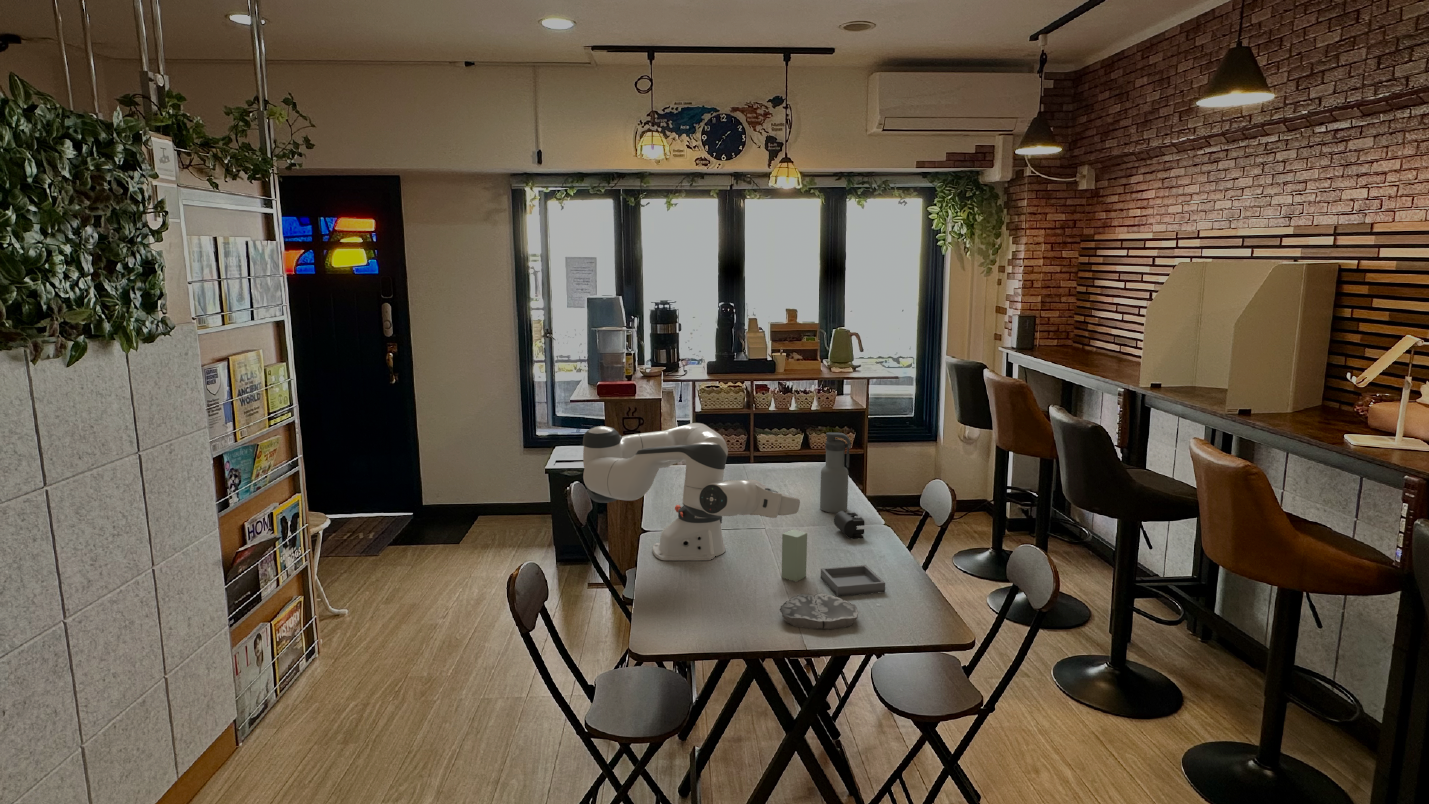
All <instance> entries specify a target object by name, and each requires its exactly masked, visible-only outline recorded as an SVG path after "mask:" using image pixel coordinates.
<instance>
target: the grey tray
mask: <svg viewBox="0 0 1429 804" xmlns="http://www.w3.org/2000/svg"><path fill="white" fill-rule="evenodd" d="M820 579H821V580H822V581H823V582H824V583H825V585H828V586H827V587H828V588H829V589H830V590H831V592H833V593H834V594H835V595H836V597H838V598H839V597H847V596H848V597H849V596H860V595H859V594H861V595H871V593H873V594H879V593H878V592H885V593H886V582H885V581H884V580H883V579H882V578H881V577H879V576H878V574H877V573H876V572H874V571H873V570H872V569H871V568H870V567H869V566H868V565H866V564H864V565H863V564H861V565H849V566H848V565H847V566H837V567H822V568H820Z"/></svg>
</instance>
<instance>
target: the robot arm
mask: <svg viewBox="0 0 1429 804" xmlns="http://www.w3.org/2000/svg"><path fill="white" fill-rule="evenodd" d="M582 446H583V450H582V451H583V452H582V453H583V455H582V456H583V458H582V461H583V467H584V470H583V476H582V478H583V482H584V484H585V487H586V491H587V495H588V497H589V498H590V499H591V500H592V501H593V502H595V503H601V504H602V503H604V504H608V503H612V502H613V503H614V502H617V500H621V501H636V500H638V499H641V498H642V497H643V496H645V495H646V494H647V493H648V491H649V490H650V489H651V487H652V486H653V483H654V481H655V478H656V477H657V474H658V472H659V470H660V469H665V468H669V467H670V466H672V465H676V464H678V463H681V462H684V463H685V473H684V483H683V493H682V506H681V505H680V504H676V505H675V506H674V510H675V512H676V513H677V518H676V519H675V520H673V521H672V522H671V523H670V524H668V525H667V526H666V527H664V528H663V529H662V531H661V533H660V537H659V542H655V543H654V544H653V546H652V553H653V555H654V557H656V558H657V559H658V560H661V561H711V559H712V560H713V559H715V556H716V557H718V556H721V555H722V554H724V553H725V552H726V545H725V543H724V537H723V531H722V523H723V522H722V521H723V517H735V516H736V517H737V516H747V515H748V516H749V515H750V516H760V517H766V518H770V519H771V518H772V519H776V518H778V516H789V515H794V514H797V513H798V512H799V509H800V504H801V501H800V499H799V498H797V497H795V496H792V495H787V494H785V493H782V492H779V491H776V490H774V489H772V488H769V487H768V486H766V485H765V484H762V482H760V481H758V480H756V479H738V480H735V479H734V480H733V479H730V480H729V479H728V480H724V473H725V469H726V462H727V458H728V455H729V450H728V449H729V448H728V445H727V442H726V440H725V438H724V437H723V436H722V435H721V434H720V433H718V432H717V431H715V430H714V429H713V428H711V427H709V426H708V425H707V424H704V423H701V422H692V423H688V424H685V425H680V426H677V427H673V428H670V429H666V430H665V429H664V430H659V431H658V430H657V431H650V432H648V431H647V432H641V433H634V434H626V435H623V436H622V435H621V434H620V432H619V431H618V430H617V429H615V428H614V427H611V426H604V425H600V426H599V425H598V426H595V427H591V428H589V429H588V430H586V432H584V434H583V438H582Z"/></svg>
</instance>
